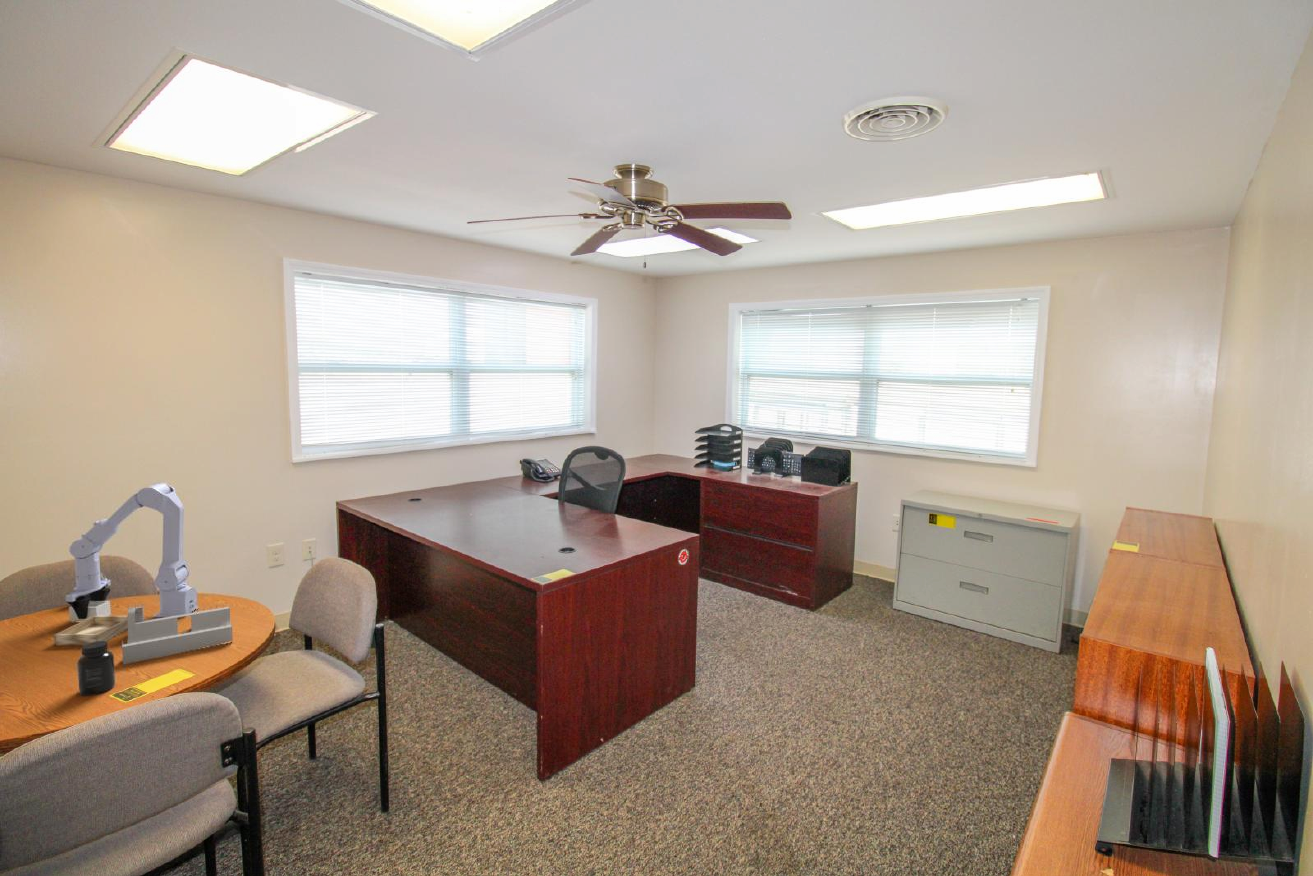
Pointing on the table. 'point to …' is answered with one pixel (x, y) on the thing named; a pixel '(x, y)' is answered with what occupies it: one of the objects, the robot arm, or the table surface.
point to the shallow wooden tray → (92, 630)
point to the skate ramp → (174, 633)
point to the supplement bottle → (95, 669)
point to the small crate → (93, 610)
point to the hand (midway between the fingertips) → (90, 614)
